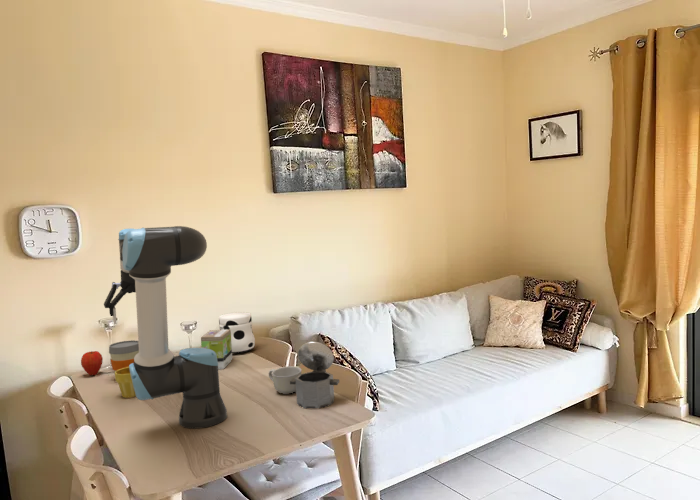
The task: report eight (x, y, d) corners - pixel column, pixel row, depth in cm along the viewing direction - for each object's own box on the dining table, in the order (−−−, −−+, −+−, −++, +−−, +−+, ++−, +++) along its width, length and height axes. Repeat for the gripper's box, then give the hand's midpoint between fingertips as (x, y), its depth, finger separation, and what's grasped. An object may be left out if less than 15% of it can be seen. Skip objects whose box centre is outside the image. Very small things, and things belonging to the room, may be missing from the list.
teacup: (308, 390, 199) (307, 369, 199) (286, 398, 192) (284, 376, 191) (284, 383, 209) (283, 363, 208) (262, 391, 201) (260, 370, 201)
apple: (84, 379, 230) (82, 354, 229) (80, 375, 236) (77, 351, 236) (106, 375, 235) (103, 350, 234) (101, 371, 242) (98, 347, 241)
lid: (330, 342, 184) (331, 338, 186) (294, 342, 187) (296, 338, 188) (335, 371, 190) (337, 366, 192) (301, 370, 193) (303, 366, 194)
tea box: (225, 369, 233) (222, 335, 232) (202, 370, 234) (199, 337, 232) (233, 359, 248) (230, 328, 247) (211, 361, 249) (209, 329, 247)
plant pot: (135, 400, 199) (133, 374, 199) (111, 399, 202) (108, 374, 201) (151, 390, 210) (149, 366, 209) (127, 390, 212) (125, 365, 211)
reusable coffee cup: (108, 379, 229) (105, 344, 228) (139, 372, 236) (136, 338, 235) (115, 385, 219) (112, 349, 218) (147, 378, 226) (144, 343, 225)
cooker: (334, 409, 178) (333, 382, 178) (286, 408, 182) (285, 381, 181) (344, 395, 191) (342, 370, 191) (299, 394, 195) (297, 369, 194)
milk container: (261, 346, 270) (258, 311, 269) (246, 356, 253) (243, 318, 252) (229, 346, 274) (226, 311, 273) (213, 356, 257) (210, 318, 256)
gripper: (162, 262, 212) (164, 310, 219) (93, 269, 199) (97, 321, 206) (167, 268, 206) (168, 318, 213) (96, 277, 193) (100, 329, 200)
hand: (133, 319), depth 210 cm, fingers open, 13 cm apart
